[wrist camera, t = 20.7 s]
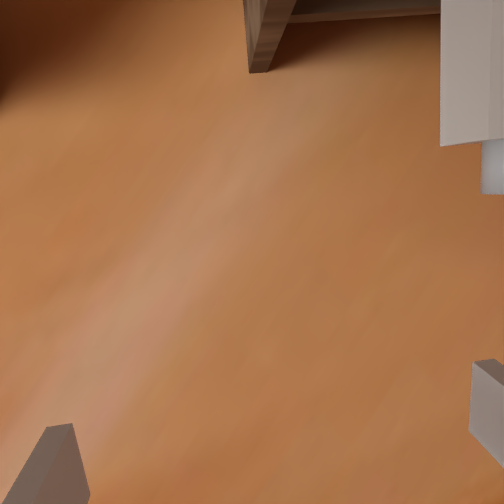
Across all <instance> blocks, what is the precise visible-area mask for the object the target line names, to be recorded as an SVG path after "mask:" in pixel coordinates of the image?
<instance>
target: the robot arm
mask: <svg viewBox="0 0 504 504" xmlns="http://www.w3.org/2000/svg"><path fill="white" fill-rule="evenodd" d="M469 432H470V433H471V434H472V435H473V436H474V437H475V438H476V439H477V440H478V441H479V442H480V443H481V444H482V445H483V446H484V448H485V449H486V450H487V451H488V452H489V453H490V454H491V455H492V456H493V457H494V458H495V459H496V460H497V461H498V462H499V463H500V465H501V466H502V467H503V468H504V365H502V364H501V363H500V362H498V361H497V360H495V359H488V360H482V361H475V362H473V366H472V383H471V400H470V418H469ZM89 497H90V491H89V487H88V483H87V479H86V475H85V471H84V467H83V463H82V459H81V456H80V452H79V448H78V444H77V440H76V436H75V432H74V428H73V424H72V423H71V424H64V425H58V426H51V427H46V429H45V431H44V433H43V434H42V436H41V438H40V439H39V441H38V443H37V445H36V446H35V448H34V450H33V451H32V453H31V455H30V457H29V458H28V460H27V462H26V463H25V465H24V467H23V469H22V470H21V472H20V474H19V475H18V477H17V479H16V481H15V482H14V484H13V486H12V487H11V489H10V491H9V493H8V494H7V496H6V498H5V499H4V501H3V503H2V504H87V503H88V500H89Z"/></svg>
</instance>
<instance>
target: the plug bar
mask: <svg viewBox="0 0 504 504" xmlns="http://www.w3.org/2000/svg"><path fill="white" fill-rule="evenodd" d="M475 143H482V154H481V191H480V193H481V194H504V0H441V67H440V146H452V145H464V144H475Z"/></svg>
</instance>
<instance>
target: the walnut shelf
mask: <svg viewBox="0 0 504 504" xmlns="http://www.w3.org/2000/svg"><path fill="white" fill-rule="evenodd" d="M243 4H244V16H245V29H246V41H247V53H248V65H249V73H263V72H267V71H268V68H269V66H270V63H271V61H272V59H273V56H274V54H275V51H276V49H277V47H278V44H279V42H280V39H281V37H282V34H283V32H284V30H285V27H286V25H287V23H302V22H317V21H333V20H348V19H363V18H379V17H394V16H409V15H425V14H440V13H441V0H243Z"/></svg>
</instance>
